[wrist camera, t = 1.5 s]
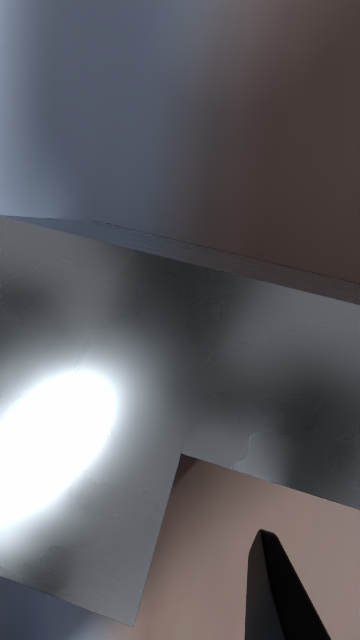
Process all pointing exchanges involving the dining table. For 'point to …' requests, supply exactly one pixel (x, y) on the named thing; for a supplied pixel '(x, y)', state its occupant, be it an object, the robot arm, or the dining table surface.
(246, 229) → the dining table surface
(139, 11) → the dining table surface
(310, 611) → the robot arm
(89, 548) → the bracket
